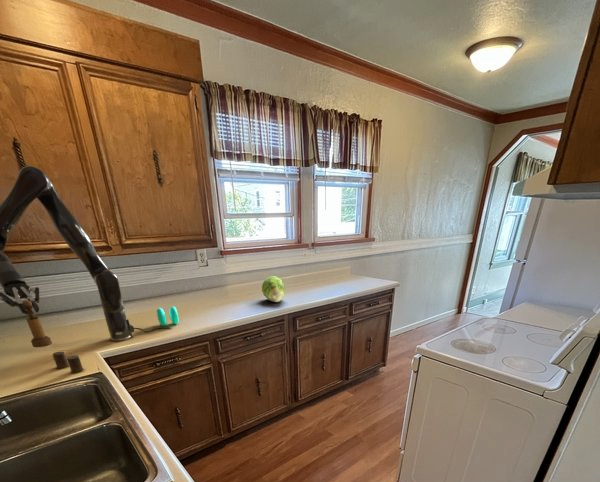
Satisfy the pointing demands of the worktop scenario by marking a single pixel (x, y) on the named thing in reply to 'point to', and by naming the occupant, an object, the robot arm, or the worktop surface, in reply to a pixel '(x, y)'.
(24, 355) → the worktop surface
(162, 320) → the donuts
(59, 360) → the middle peg
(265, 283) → the lettuce
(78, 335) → the worktop surface
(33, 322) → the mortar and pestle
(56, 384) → the worktop surface
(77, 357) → the far peg
